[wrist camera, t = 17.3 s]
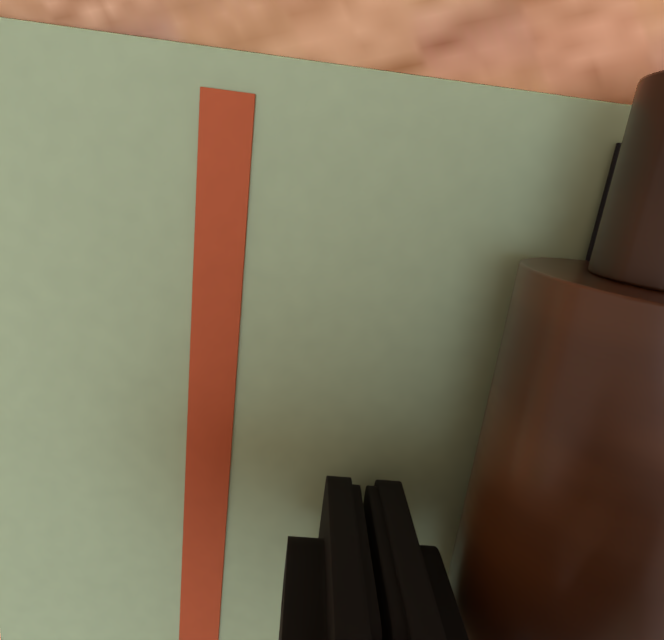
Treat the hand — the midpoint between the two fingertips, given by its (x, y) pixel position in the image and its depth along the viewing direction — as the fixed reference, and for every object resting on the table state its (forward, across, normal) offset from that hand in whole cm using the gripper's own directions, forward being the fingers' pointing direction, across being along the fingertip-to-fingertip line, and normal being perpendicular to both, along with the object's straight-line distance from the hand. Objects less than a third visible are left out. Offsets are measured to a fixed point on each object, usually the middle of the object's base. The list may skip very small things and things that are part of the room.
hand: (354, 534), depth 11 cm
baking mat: (+1, -4, 0) cm, 4 cm away
